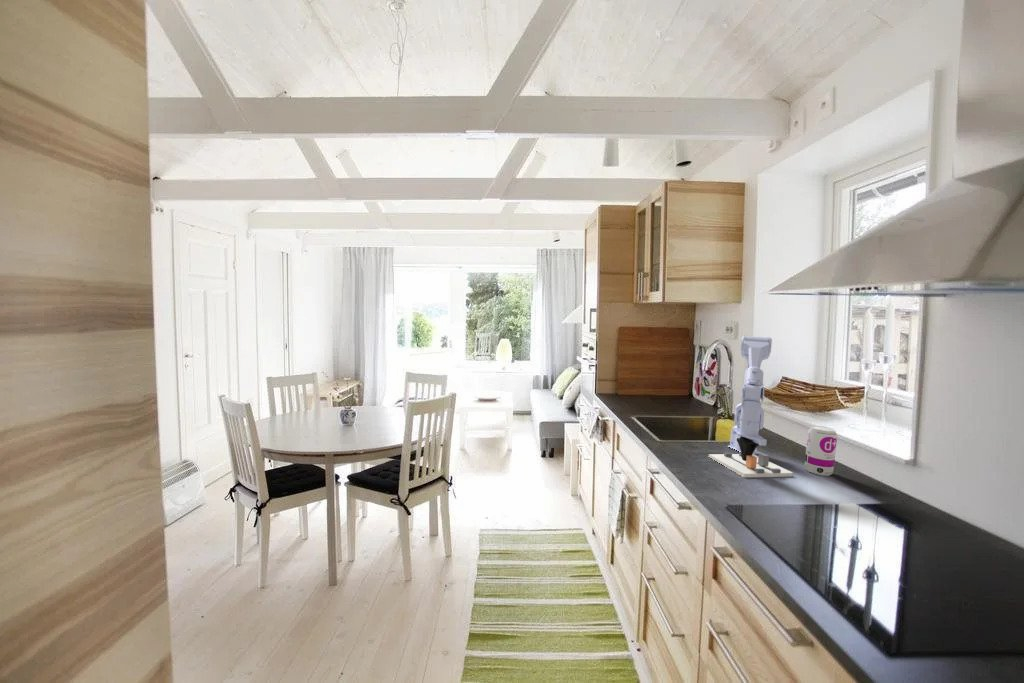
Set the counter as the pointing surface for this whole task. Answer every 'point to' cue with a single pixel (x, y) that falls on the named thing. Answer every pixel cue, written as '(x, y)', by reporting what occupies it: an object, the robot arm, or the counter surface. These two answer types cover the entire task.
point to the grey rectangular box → (763, 459)
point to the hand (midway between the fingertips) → (746, 460)
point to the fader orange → (751, 461)
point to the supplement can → (820, 450)
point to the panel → (739, 466)
